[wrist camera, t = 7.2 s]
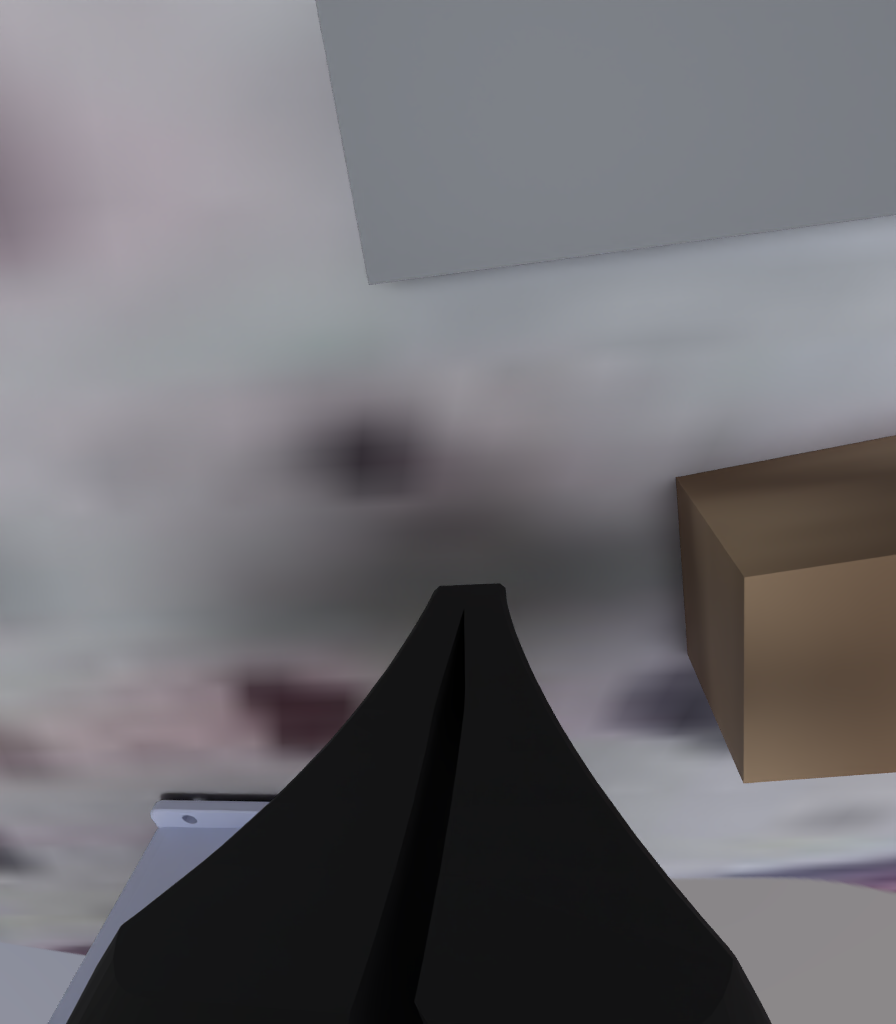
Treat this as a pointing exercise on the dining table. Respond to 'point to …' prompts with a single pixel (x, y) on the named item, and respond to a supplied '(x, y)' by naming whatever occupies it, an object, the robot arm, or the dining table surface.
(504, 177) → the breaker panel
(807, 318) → the dining table surface
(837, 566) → the block
